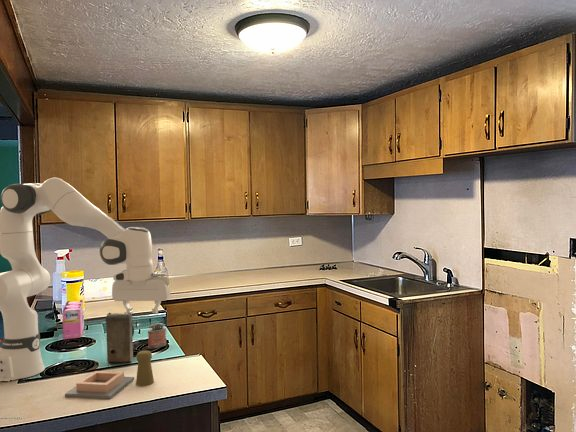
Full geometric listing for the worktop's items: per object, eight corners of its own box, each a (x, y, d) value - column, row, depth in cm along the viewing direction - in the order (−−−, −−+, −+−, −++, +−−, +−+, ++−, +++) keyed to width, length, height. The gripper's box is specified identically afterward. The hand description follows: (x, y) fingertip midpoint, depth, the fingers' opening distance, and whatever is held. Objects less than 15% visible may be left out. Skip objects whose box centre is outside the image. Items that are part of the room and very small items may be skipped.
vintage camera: (142, 352, 198) (140, 305, 198) (131, 363, 182) (129, 312, 182) (119, 353, 198) (117, 306, 198) (106, 364, 182) (104, 313, 182)
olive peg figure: (157, 381, 164) (156, 350, 164) (144, 387, 159) (143, 355, 158) (145, 378, 167) (144, 347, 167) (132, 384, 162) (131, 352, 162)
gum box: (67, 326, 240) (66, 300, 239) (84, 325, 243) (83, 299, 242) (62, 339, 217) (61, 310, 217) (81, 337, 220) (80, 309, 220)
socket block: (65, 396, 153) (64, 386, 153) (93, 377, 168) (93, 368, 168) (110, 399, 150) (109, 388, 150) (134, 379, 166) (134, 370, 166)
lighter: (164, 343, 207) (163, 321, 207) (167, 345, 205) (167, 322, 204) (147, 347, 202) (146, 324, 202) (150, 349, 200) (149, 326, 199)
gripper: (172, 271, 163) (174, 310, 164) (118, 272, 166) (120, 311, 167) (164, 274, 157) (167, 315, 157) (108, 275, 160) (110, 315, 161)
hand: (142, 313), depth 162 cm, fingers open, 8 cm apart
